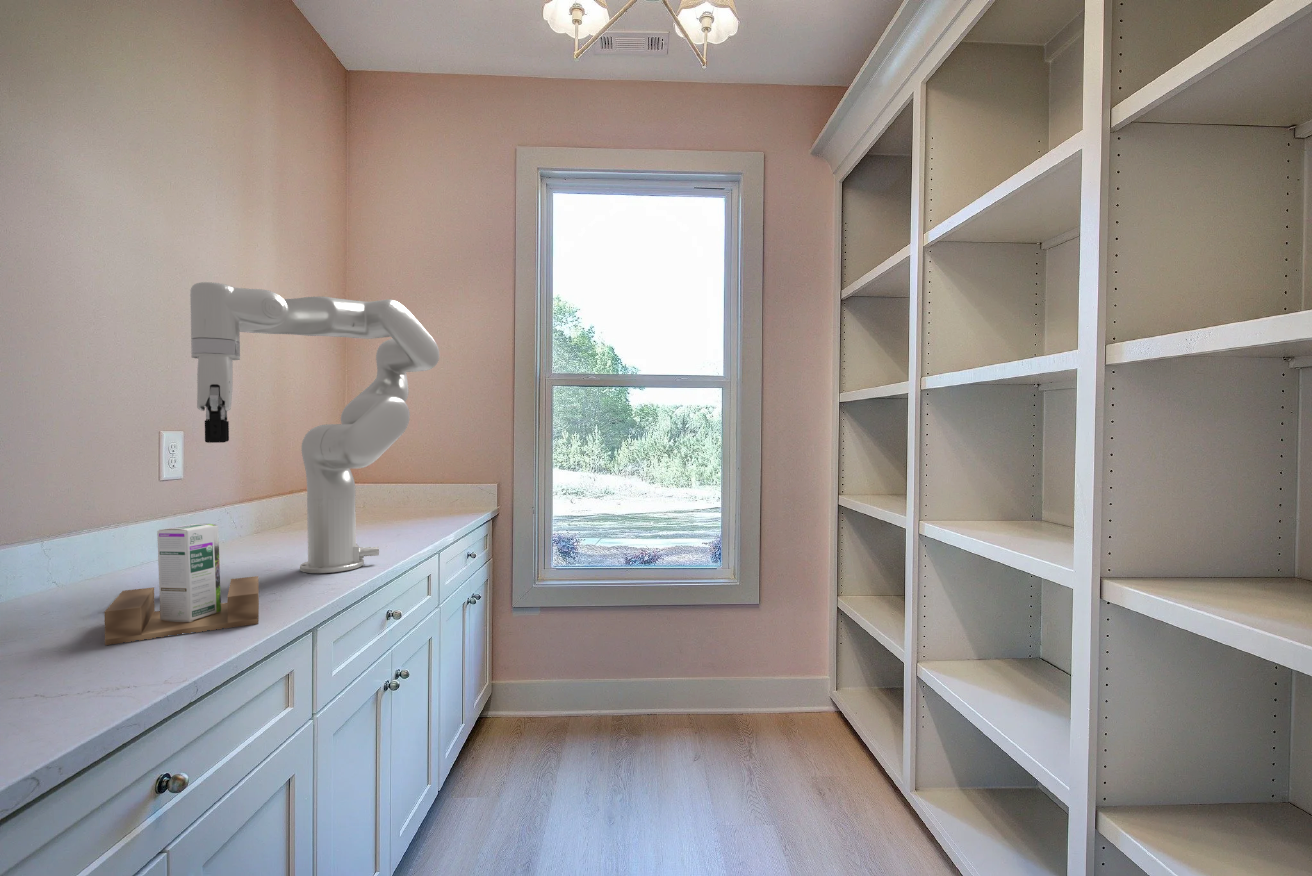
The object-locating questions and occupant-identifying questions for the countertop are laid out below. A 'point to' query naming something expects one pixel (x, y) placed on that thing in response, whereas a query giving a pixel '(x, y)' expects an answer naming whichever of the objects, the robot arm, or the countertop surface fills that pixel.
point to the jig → (140, 621)
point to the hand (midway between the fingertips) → (217, 442)
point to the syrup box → (189, 572)
